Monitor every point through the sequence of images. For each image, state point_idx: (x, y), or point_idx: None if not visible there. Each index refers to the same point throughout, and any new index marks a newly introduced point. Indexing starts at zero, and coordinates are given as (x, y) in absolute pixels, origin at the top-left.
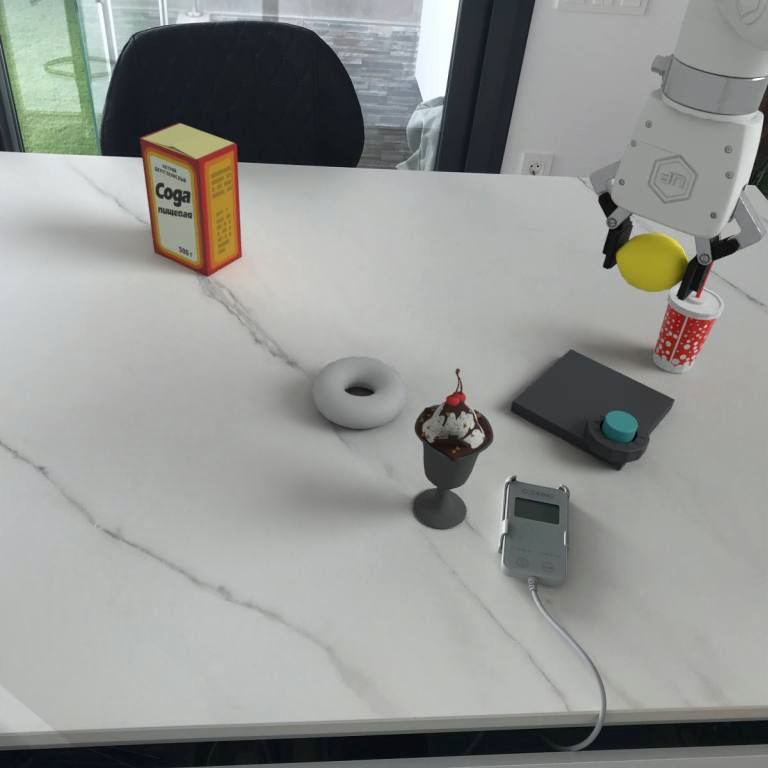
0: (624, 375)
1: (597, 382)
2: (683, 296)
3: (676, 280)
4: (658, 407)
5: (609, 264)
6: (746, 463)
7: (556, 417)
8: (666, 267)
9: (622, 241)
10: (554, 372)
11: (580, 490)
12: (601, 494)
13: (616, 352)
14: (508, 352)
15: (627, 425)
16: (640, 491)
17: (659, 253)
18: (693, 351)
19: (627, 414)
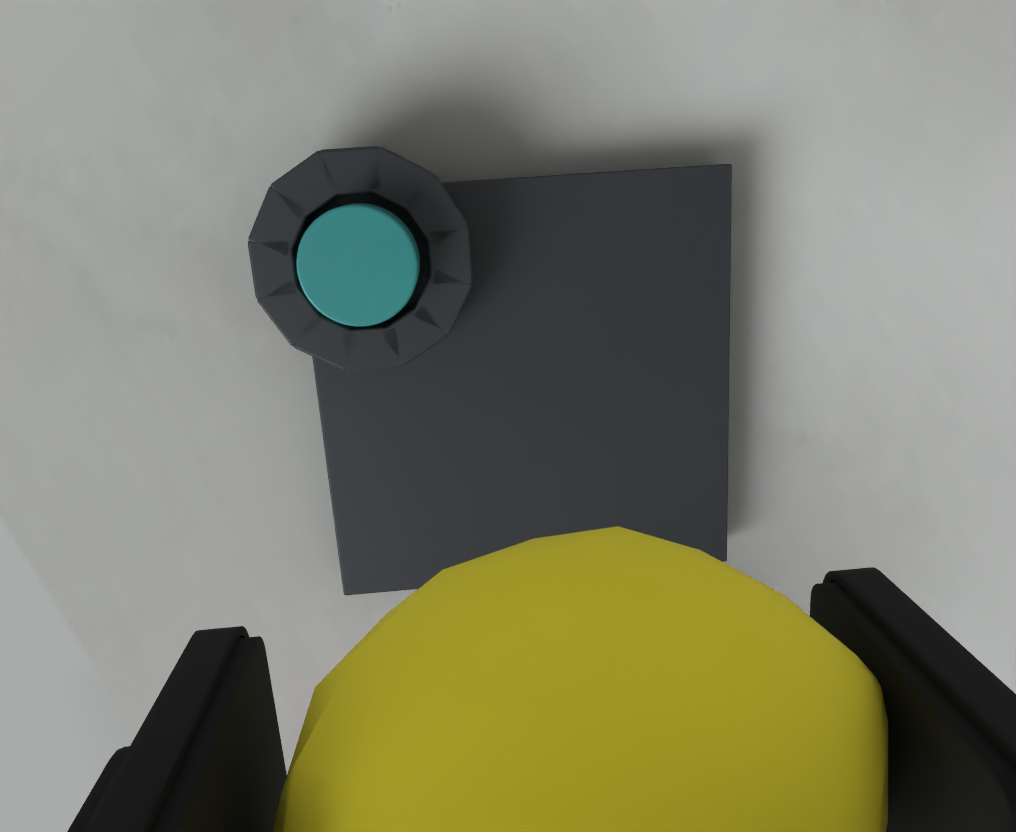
0: None
1: (569, 477)
2: (194, 646)
3: (302, 737)
4: (359, 521)
5: (843, 593)
6: (59, 530)
7: (572, 209)
8: (376, 732)
9: (919, 815)
10: (703, 411)
11: (335, 4)
12: (277, 43)
13: None
14: (877, 421)
15: (329, 262)
16: (201, 159)
17: (499, 809)
18: None
19: (364, 318)
